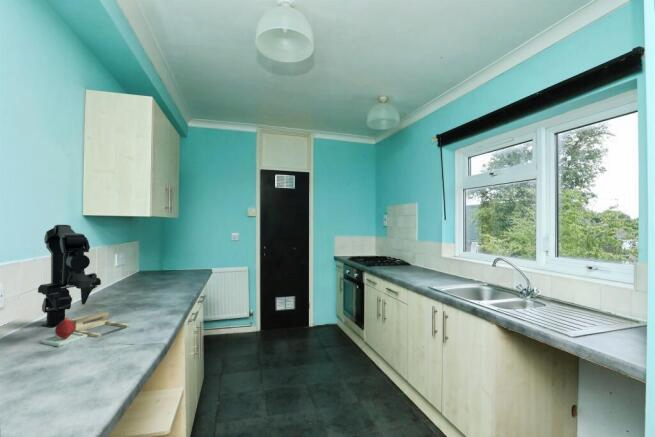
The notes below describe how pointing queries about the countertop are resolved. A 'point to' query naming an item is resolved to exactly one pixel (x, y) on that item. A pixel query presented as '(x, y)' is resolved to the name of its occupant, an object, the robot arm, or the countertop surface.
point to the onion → (65, 328)
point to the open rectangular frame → (95, 323)
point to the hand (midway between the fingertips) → (70, 307)
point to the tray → (61, 342)
